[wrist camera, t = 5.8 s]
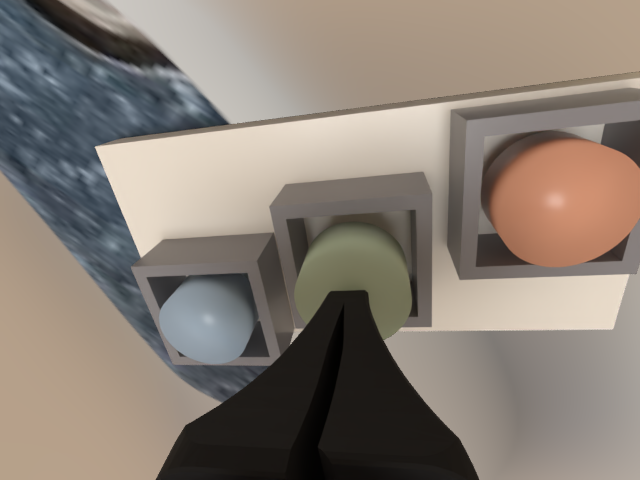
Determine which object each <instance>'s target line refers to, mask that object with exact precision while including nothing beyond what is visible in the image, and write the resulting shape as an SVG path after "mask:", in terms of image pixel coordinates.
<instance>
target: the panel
mask: <svg viewBox="0 0 640 480" xmlns="http://www.w3.org/2000/svg"><path fill="white" fill-rule="evenodd" d="M550 131H560V132H567V133H572V134H575V135H578V136H580V137H583V138H585V139H588V140H591V141H593V142H596V143H599V144H601V145H604V146H606V147H609V148H612V149H614V150H617V151H619V152H621V153H623V154H625V155H627V156H628V157H629V158H630V159H632V160H633V161H634V162H635V163H636V165H637V166H638V167H639V169H640V72H632V73H625V74H617V75H609V76H601V77H594V78H586V79H578V80H571V81H563V82H555V83H547V84H541V85H540V84H539V85H532V86H524V87H516V88H508V89H501V90H494V91H485V92H477V93H470V94H462V95H454V96H446V97H439V98H431V99H424V100H415V101H408V102H401V103H392V104H385V105H377V106H370V107H362V108H354V109H346V110H338V111H331V112H323V113H315V114H307V115H300V116H292V117H284V118H277V119H269V120H261V121H253V122H246V123H237V124H230V125H222V126H214V127H207V128H199V129H191V130H183V131H176V132H168V133H160V134H152V135H145V136H137V137H129V138H121V139H118V140H115V141H111V142H108V143H105V144H102V145H99V146H95V148H96V151H97V153H98V155H99V158H100V160H101V163H102V165H103V167H104V170H105V172H106V175H107V177H108V179H109V182H110V184H111V187H112V189H113V191H114V194H115V196H116V199H117V201H118V203H119V206H120V208H121V211H122V213H123V215H124V218H125V220H126V223H127V225H128V227H129V230H130V232H131V235H132V237H133V239H134V242H135V244H136V247H137V249H138V251H139V254H140V256H141V259H139V260H138V261H137V262H136V263H135V264H134V265H132V266H131V269H132V271H133V274H134V276H135V278H136V280H137V283H138V285H139V287H140V290H141V292H142V294H143V296H144V299H145V301H146V303H147V306H148V308H149V310H150V312H151V315H152V317H153V319H154V322H155V324H156V326H157V328H158V331H159V333H160V335H161V338H162V340H163V342H164V344H165V347H166V349H167V351H168V354H169V356H170V358H171V360H172V363H173V365H253V366H271V365H272V364H273V363H274V362H275V361H276V360H277V359H278V358H279V357H280V356H281V355H282V354H283V353H284V351H285V350H286V349H287V348H288V347H289V345H290V342H291V338H292V335H293V332H302V330H303V329H304V328H305V327H306V325H307V324H306V323H305V322H304V321H303V319H302V318H301V316H300V315H299V313H298V310H297V308H296V304H295V299H294V290H295V285H296V282H297V279H298V276H299V273H300V271H301V268H302V265H303V262H304V259H305V257H306V254H307V251H308V248H309V246H310V245H311V243H312V241H313V240H314V239H315V238H316V237H317V236H318V235H319V234H320V233H321V232H322V231H324V230H325V229H327V228H329V227H331V226H333V225H336V224H339V223H343V222H365V223H369V224H373V225H375V226H378V227H380V228H382V229H384V230H385V231H387V232H388V233H390V234H391V235H392V236H393V237H394V238H395V239H396V240H397V241H398V242H399V244H400V245H401V247H402V249H403V251H404V253H405V257H406V261H407V268H408V274H409V281H410V288H411V295H412V307H411V311H410V314H409V316H408V319H407V320H406V322H405V324H404V325H403V326H402V327H401V328H400V329H399V330H398V331H486V330H487V331H488V330H489V331H491V330H493V331H496V330H497V331H498V330H606V329H607V330H609V329H610V330H611V329H613V328H614V324H615V321H616V318H617V314H618V311H619V307H620V304H621V301H622V297H623V294H624V291H625V287H626V284H627V281H628V277H629V274H636V273H637V270H638V267H639V263H640V218H639V220H638V222H637V223H636V225H635V226H634V228H633V229H632V230H631V232H630V233H629V234H628V235H627V236H626V237H625V238H624V239H623V240H622V241H621V242H620V243H619V244H617V245H616V246H615V247H613V248H612V249H611V250H609V251H608V252H606V253H604V254H603V255H601V256H599V257H597V258H595V259H592V260H590V261H587V262H584V263H581V264H577V265H572V266H567V267H544V266H539V265H534V264H531V263H529V262H526V261H524V260H522V259H520V258H519V257H517V256H516V255H515V254H513V253H512V252H511V251H510V250H509V249H508V247H507V246H506V245H505V243H504V242H503V240H502V239H501V237H500V236H499V235H498V233H497V232H496V230H495V229H494V227H493V226H492V224H491V223H490V222H489V220H488V219H487V217H486V215H485V213H484V211H483V208H482V205H481V186H482V183H483V179H484V177H485V175H486V172H487V171H488V169H489V167H490V166H491V164H492V163H493V162H494V160H495V159H496V158H497V157H498V156H499V155H500V154H501V153H502V152H503V151H504V150H506V149H507V148H508V147H509V146H511V145H512V144H514V143H516V142H517V141H519V140H521V139H523V138H526V137H528V136H531V135H534V134H538V133H542V132H550ZM229 273H240V274H242V275H243V276H245V277H246V278H247V279H248V280H249V281H250V285H251V288H252V292H253V296H254V300H255V303H256V307H257V311H258V314H259V319H258V321H257V323H256V325H255V328H254V330H253V332H252V334H251V336H250V339H249V341H248V343H247V345H246V347H245V349H244V351H243V353H242V354H241V355H240V356H239V357H238V358H236V359H235V360H233V361H230V362H227V363H223V364H208V363H202V362H199V361H196V360H193V359H191V358H189V357H187V356H185V355H183V354H182V353H180V352H179V351H178V350H176V349H175V348H174V347H173V346H172V345H171V344H170V343H169V342H168V341H167V339H166V338H165V336H164V334H163V332H162V330H161V327H160V323H159V314H160V310H161V308H162V306H163V305H164V303H165V302H166V301H167V300H168V299H169V297H170V296H171V295H172V294H173V293H174V292H175V291H176V289H177V288H178V287H179V286H180V285H181V284H182V282H183V281H184V280H185V279H186V278H187V277H188V276H189V275H206V274H229Z"/></svg>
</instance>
